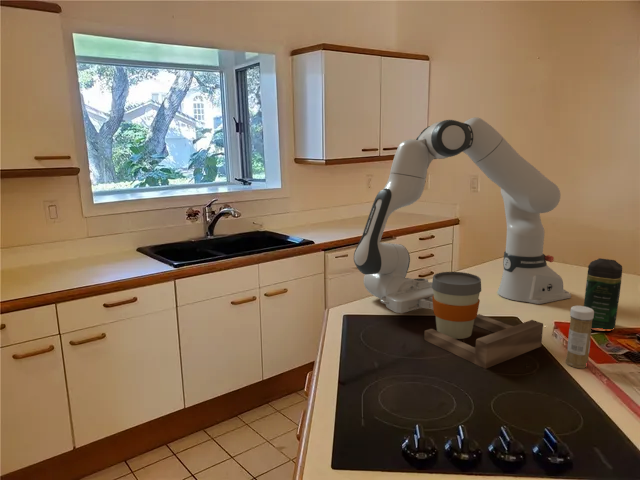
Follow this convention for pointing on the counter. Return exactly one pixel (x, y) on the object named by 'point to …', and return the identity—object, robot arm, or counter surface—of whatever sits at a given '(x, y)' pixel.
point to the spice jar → (579, 336)
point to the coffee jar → (603, 291)
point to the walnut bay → (492, 341)
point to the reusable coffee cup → (455, 302)
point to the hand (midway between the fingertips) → (438, 306)
